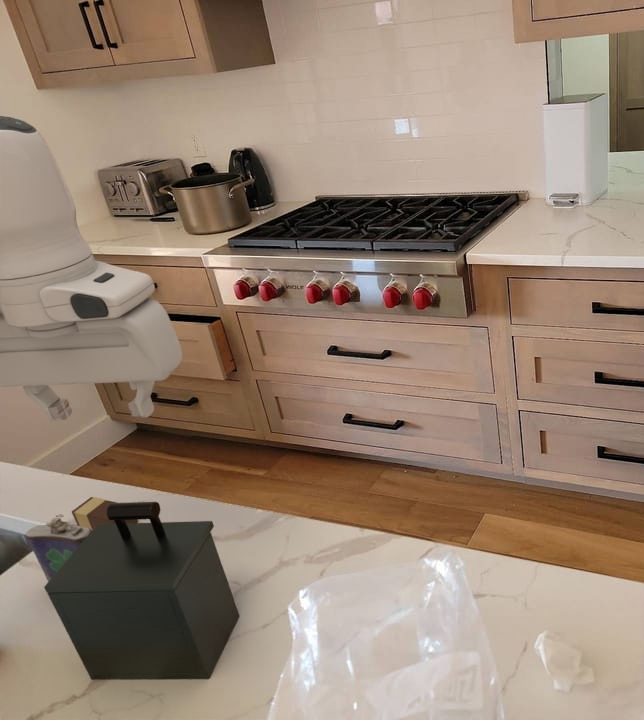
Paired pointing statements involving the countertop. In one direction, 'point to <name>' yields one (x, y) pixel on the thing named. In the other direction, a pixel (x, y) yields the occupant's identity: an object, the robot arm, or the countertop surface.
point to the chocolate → (94, 513)
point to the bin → (154, 625)
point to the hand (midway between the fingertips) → (102, 416)
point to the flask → (55, 543)
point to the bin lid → (132, 553)
